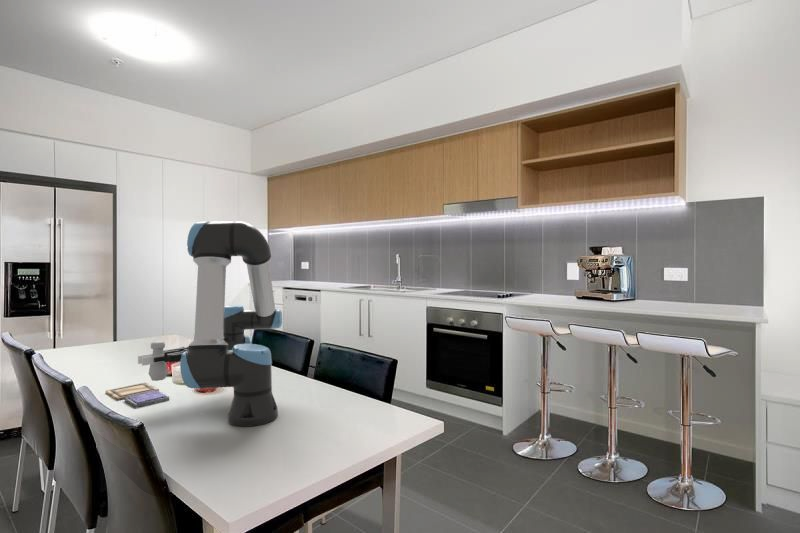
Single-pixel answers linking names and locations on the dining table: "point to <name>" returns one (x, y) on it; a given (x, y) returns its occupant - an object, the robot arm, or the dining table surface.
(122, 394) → the marked board
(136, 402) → the ink pad
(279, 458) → the dining table surface
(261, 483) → the dining table surface
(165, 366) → the salt shaker
